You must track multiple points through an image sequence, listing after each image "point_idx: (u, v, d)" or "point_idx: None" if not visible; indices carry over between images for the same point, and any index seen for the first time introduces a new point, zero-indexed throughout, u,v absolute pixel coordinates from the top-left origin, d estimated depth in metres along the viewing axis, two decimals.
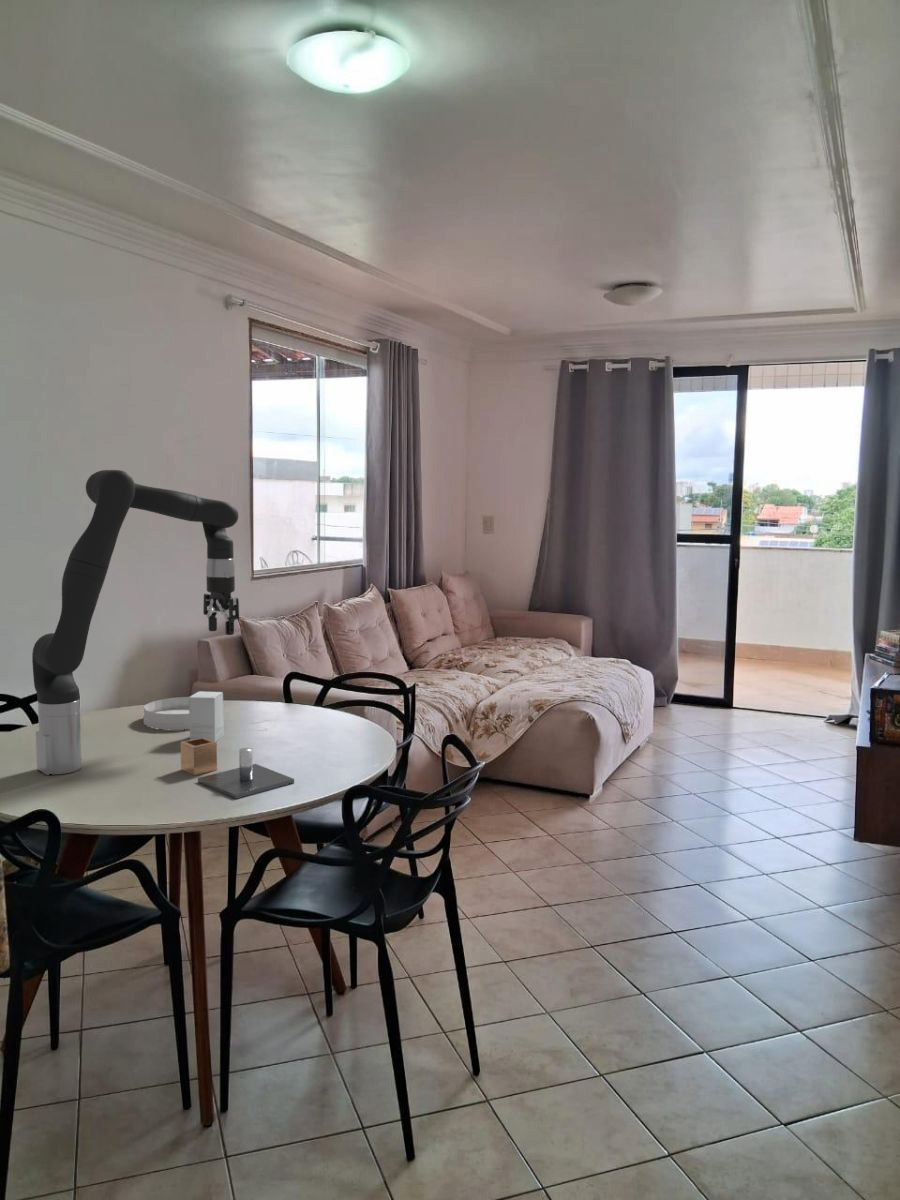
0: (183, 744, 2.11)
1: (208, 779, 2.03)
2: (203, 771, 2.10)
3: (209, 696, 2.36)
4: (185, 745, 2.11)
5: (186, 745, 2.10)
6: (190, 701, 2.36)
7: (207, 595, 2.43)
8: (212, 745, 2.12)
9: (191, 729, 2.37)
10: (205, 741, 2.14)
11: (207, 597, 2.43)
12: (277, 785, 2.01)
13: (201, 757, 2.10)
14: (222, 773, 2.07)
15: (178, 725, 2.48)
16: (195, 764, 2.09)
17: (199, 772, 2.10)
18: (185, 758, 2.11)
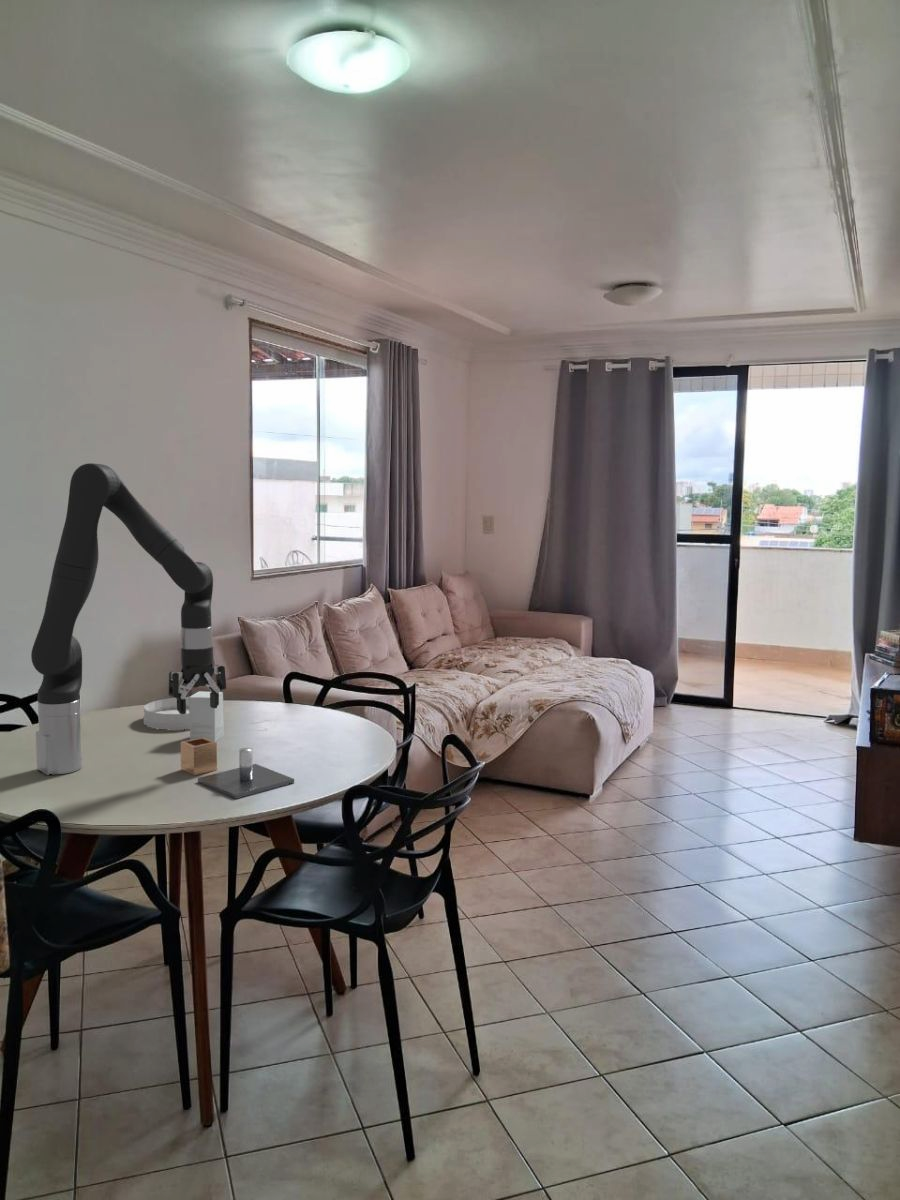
0: (183, 744, 2.11)
1: (208, 779, 2.03)
2: (203, 771, 2.10)
3: (209, 696, 2.36)
4: (185, 745, 2.11)
5: (186, 745, 2.10)
6: (190, 701, 2.36)
7: None
8: (212, 745, 2.12)
9: (191, 729, 2.37)
10: (205, 741, 2.14)
11: None
12: (277, 785, 2.01)
13: (201, 757, 2.10)
14: (222, 773, 2.07)
15: (178, 725, 2.48)
16: (195, 764, 2.09)
17: (199, 772, 2.10)
18: (185, 758, 2.11)
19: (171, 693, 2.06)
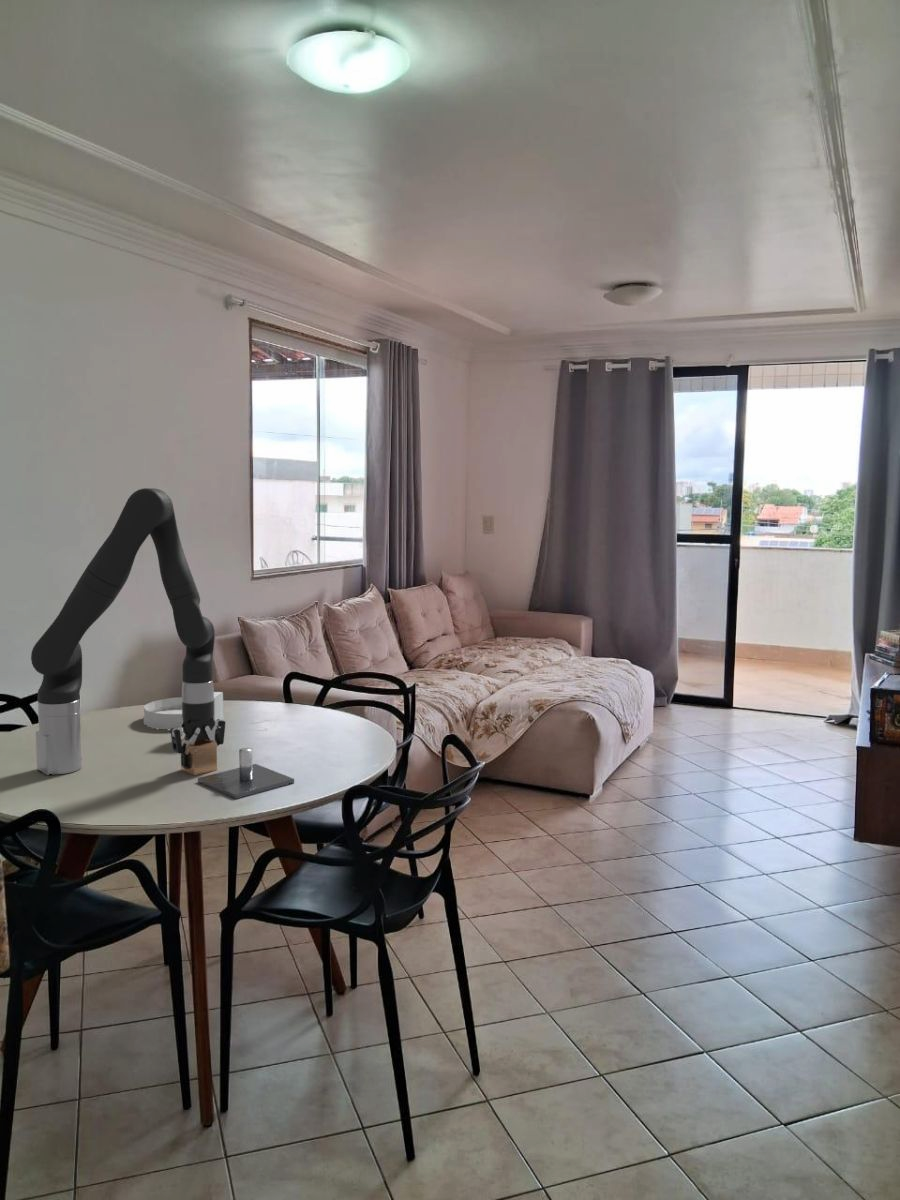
0: None
1: (208, 779, 2.03)
2: (203, 771, 2.10)
3: None
4: None
5: None
6: None
7: None
8: (212, 745, 2.12)
9: None
10: (205, 741, 2.14)
11: None
12: (277, 785, 2.01)
13: (201, 757, 2.10)
14: (222, 773, 2.07)
15: (178, 725, 2.48)
16: (195, 764, 2.09)
17: (199, 772, 2.10)
18: None
19: (175, 749, 2.08)
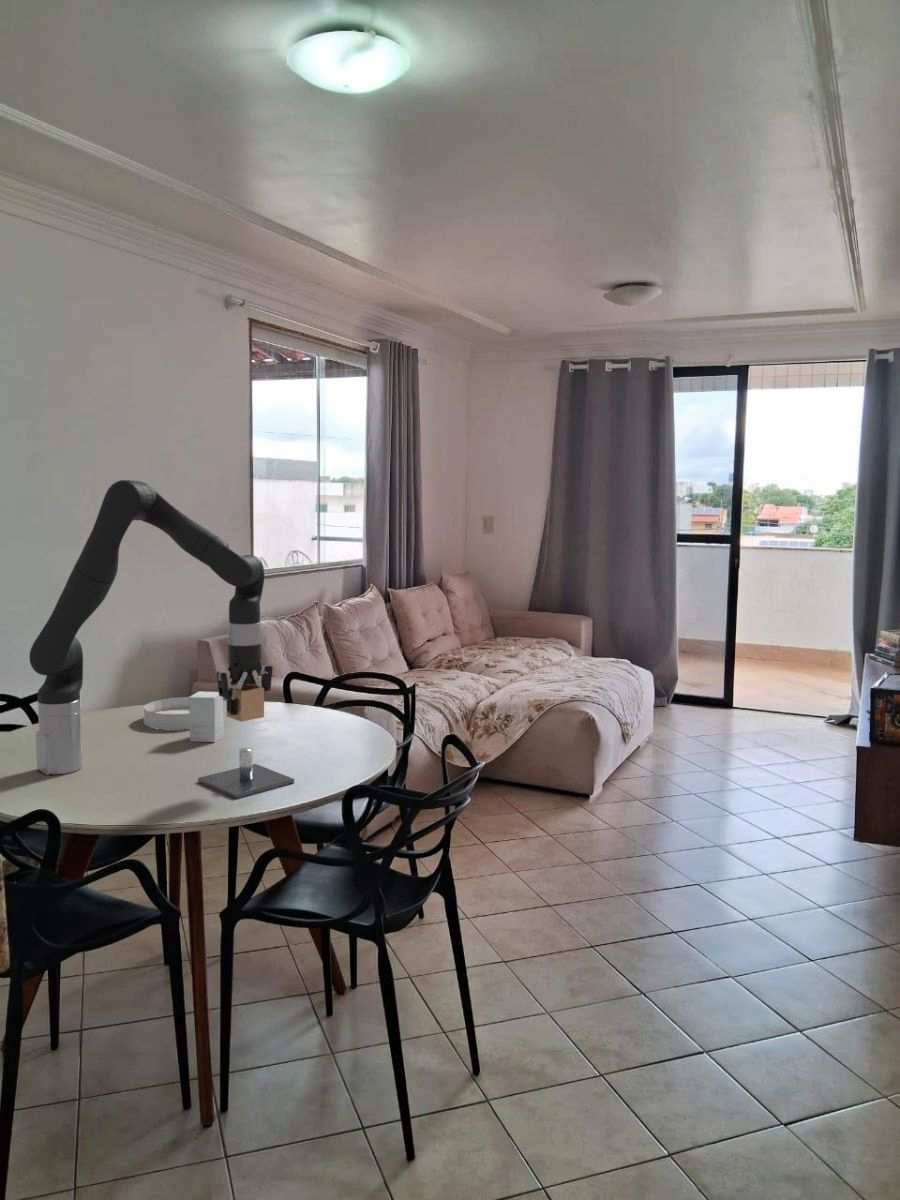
0: None
1: (208, 779, 2.03)
2: (250, 717, 2.00)
3: (209, 696, 2.36)
4: None
5: (232, 690, 2.00)
6: (190, 701, 2.36)
7: None
8: (259, 690, 2.01)
9: (191, 729, 2.37)
10: (251, 687, 2.04)
11: None
12: (277, 785, 2.01)
13: (248, 703, 1.99)
14: (222, 773, 2.07)
15: (178, 725, 2.48)
16: (242, 710, 1.98)
17: (246, 718, 1.99)
18: None
19: (222, 693, 1.97)
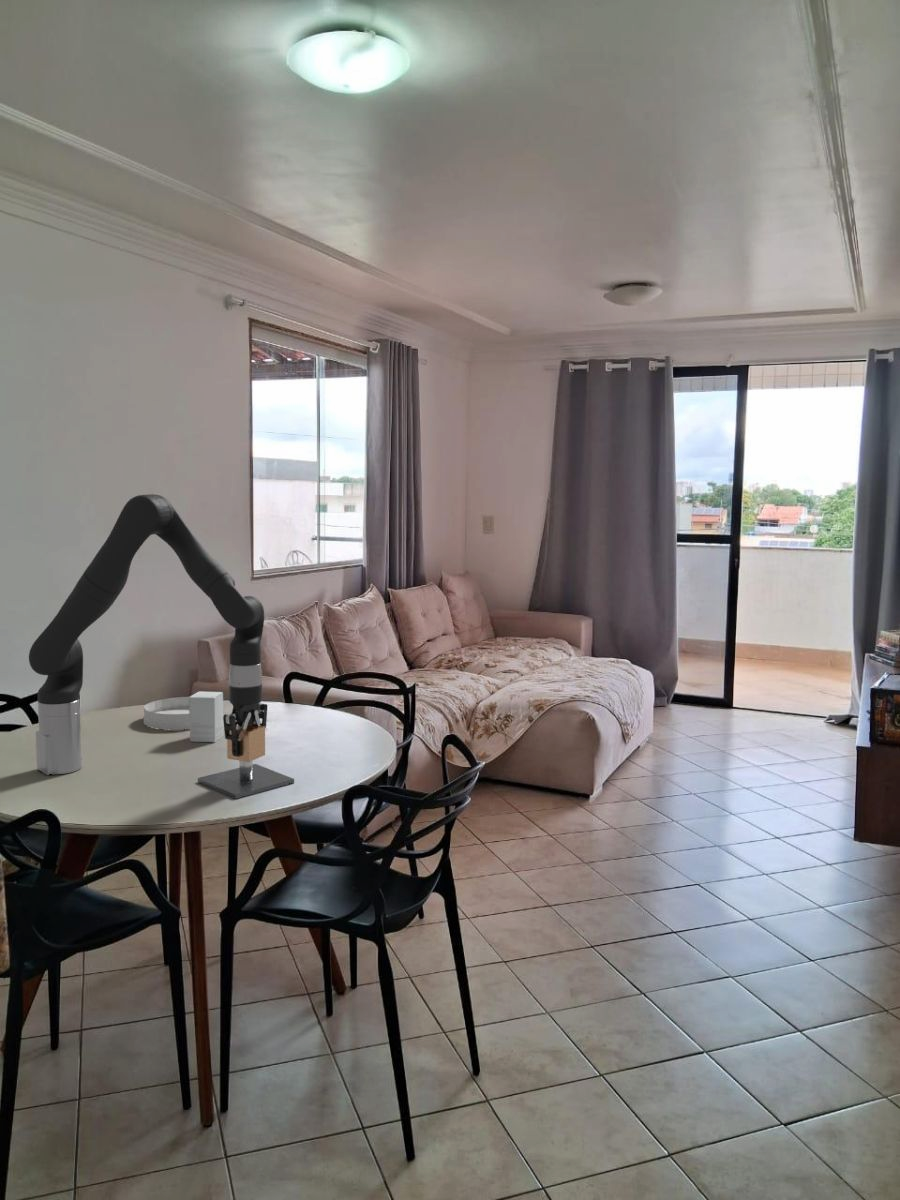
0: None
1: (208, 779, 2.03)
2: (255, 757, 2.02)
3: (209, 696, 2.36)
4: None
5: (236, 732, 2.00)
6: (190, 701, 2.36)
7: None
8: (262, 729, 2.04)
9: (191, 729, 2.37)
10: (249, 726, 2.05)
11: None
12: (277, 785, 2.01)
13: (254, 742, 2.01)
14: (222, 773, 2.07)
15: (178, 725, 2.48)
16: (250, 750, 2.00)
17: (252, 758, 2.01)
18: None
19: (229, 736, 1.97)
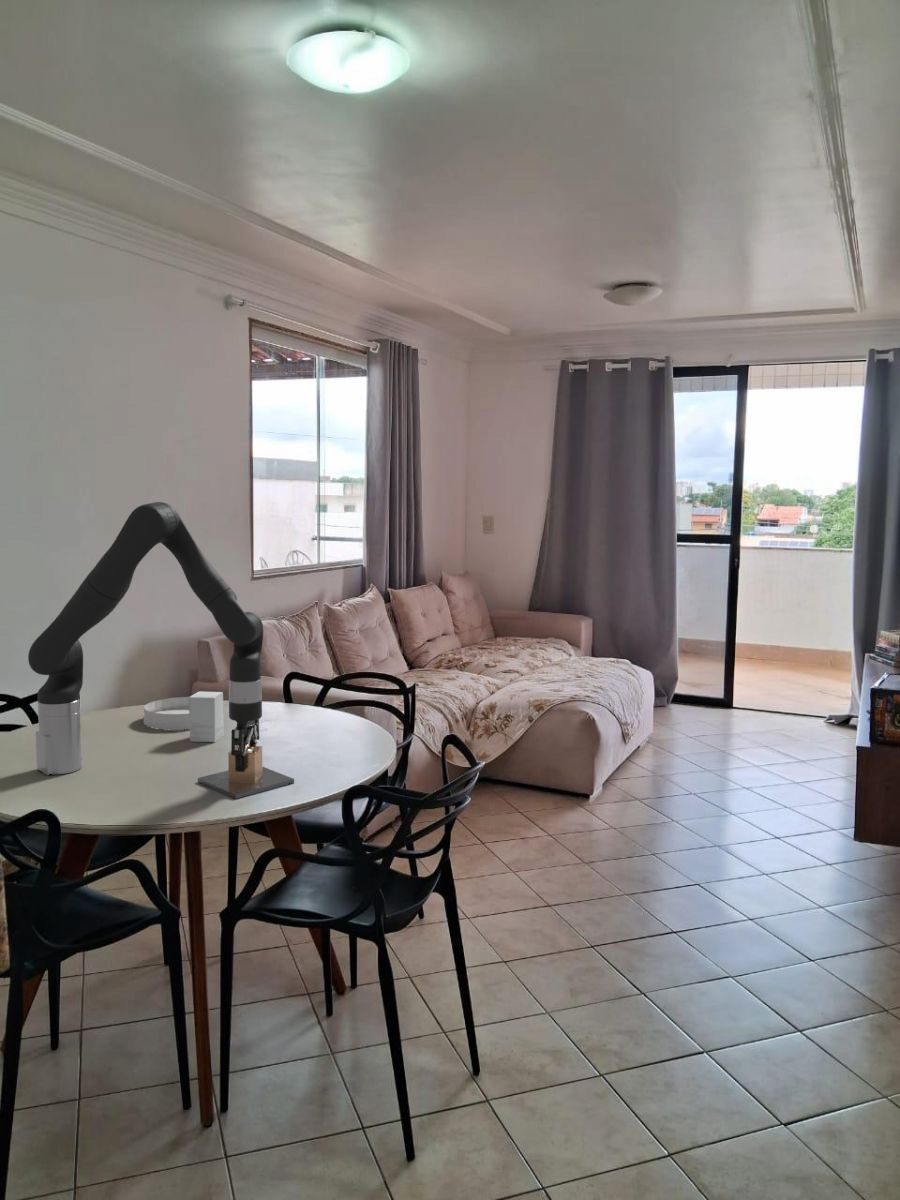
0: None
1: (208, 779, 2.03)
2: (257, 778, 2.03)
3: (209, 696, 2.36)
4: None
5: None
6: (190, 701, 2.36)
7: None
8: (260, 750, 2.05)
9: (191, 729, 2.37)
10: None
11: None
12: (277, 785, 2.01)
13: (257, 763, 2.02)
14: (222, 773, 2.07)
15: (178, 725, 2.48)
16: (255, 771, 2.01)
17: (256, 779, 2.02)
18: None
19: (236, 752, 1.96)
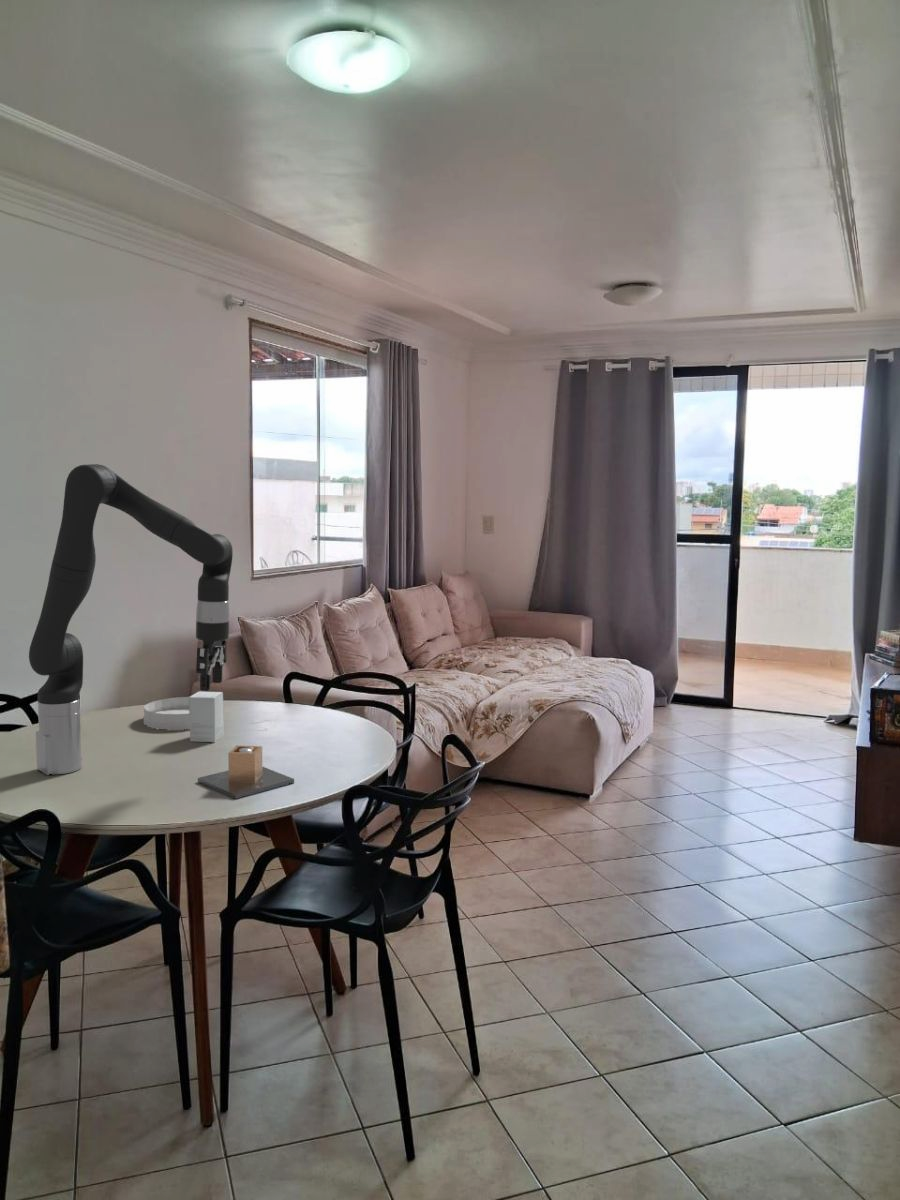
0: (234, 754, 2.00)
1: (208, 779, 2.03)
2: (257, 778, 2.03)
3: (209, 696, 2.36)
4: (238, 755, 2.00)
5: (240, 754, 2.00)
6: (190, 701, 2.36)
7: None
8: (260, 750, 2.05)
9: (191, 729, 2.37)
10: None
11: None
12: (277, 785, 2.01)
13: (257, 763, 2.02)
14: (222, 773, 2.07)
15: (178, 725, 2.48)
16: (255, 771, 2.01)
17: (256, 779, 2.02)
18: (237, 768, 2.01)
19: (201, 670, 1.99)
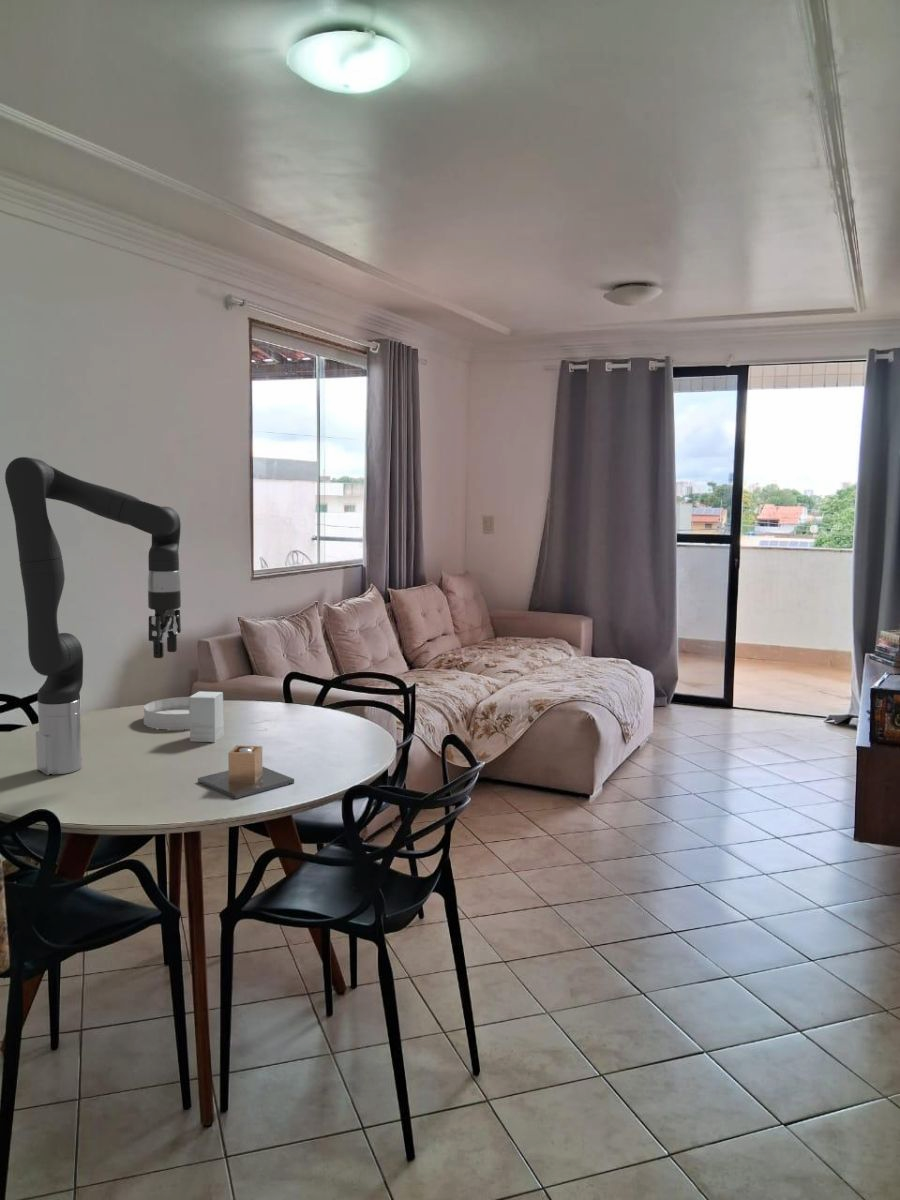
0: (234, 754, 2.00)
1: (208, 779, 2.03)
2: (257, 778, 2.03)
3: (209, 696, 2.36)
4: (238, 755, 2.00)
5: (240, 754, 2.00)
6: (190, 701, 2.36)
7: None
8: (260, 750, 2.05)
9: (191, 729, 2.37)
10: None
11: None
12: (277, 785, 2.01)
13: (257, 763, 2.02)
14: (222, 773, 2.07)
15: (178, 725, 2.48)
16: (255, 771, 2.01)
17: (256, 779, 2.02)
18: (237, 768, 2.01)
19: (153, 637, 2.05)
